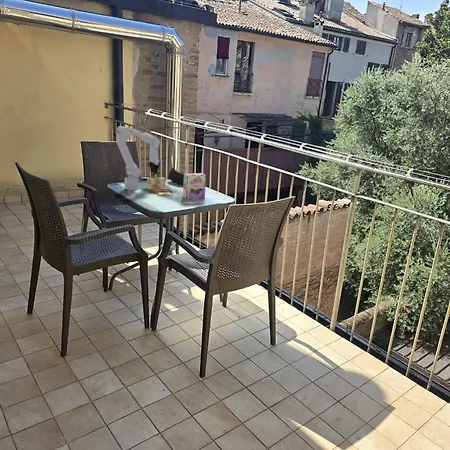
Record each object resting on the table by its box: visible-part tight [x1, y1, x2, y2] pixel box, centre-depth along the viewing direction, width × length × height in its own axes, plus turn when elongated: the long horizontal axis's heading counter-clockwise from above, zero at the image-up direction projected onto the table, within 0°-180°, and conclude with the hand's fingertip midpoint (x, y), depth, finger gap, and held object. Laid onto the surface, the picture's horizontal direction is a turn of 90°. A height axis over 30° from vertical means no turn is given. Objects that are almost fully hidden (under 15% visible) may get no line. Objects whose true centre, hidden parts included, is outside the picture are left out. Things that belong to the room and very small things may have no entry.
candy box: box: [182, 172, 207, 200], centre depth 274 cm, size 14×6×16 cm, turn 117°
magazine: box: [168, 167, 185, 187], centre depth 311 cm, size 17×3×30 cm
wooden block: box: [147, 177, 167, 191], centre depth 291 cm, size 12×2×8 cm, turn 114°
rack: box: [148, 188, 174, 194], centre depth 283 cm, size 16×5×2 cm, turn 114°
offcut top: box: [157, 192, 172, 197], centre depth 276 cm, size 8×4×1 cm, turn 117°
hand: (153, 173), depth 297 cm, fingers open, 7 cm apart
